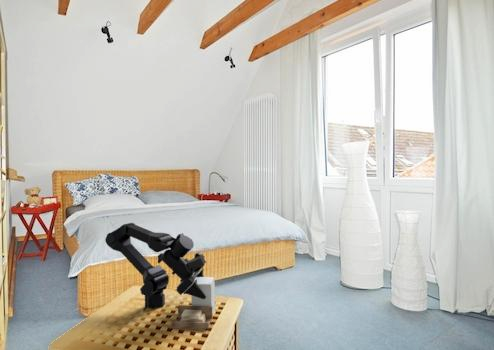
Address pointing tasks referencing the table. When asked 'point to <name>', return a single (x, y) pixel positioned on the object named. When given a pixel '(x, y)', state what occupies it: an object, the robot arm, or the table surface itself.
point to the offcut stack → (193, 316)
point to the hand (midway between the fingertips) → (207, 293)
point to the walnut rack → (193, 325)
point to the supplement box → (205, 292)
